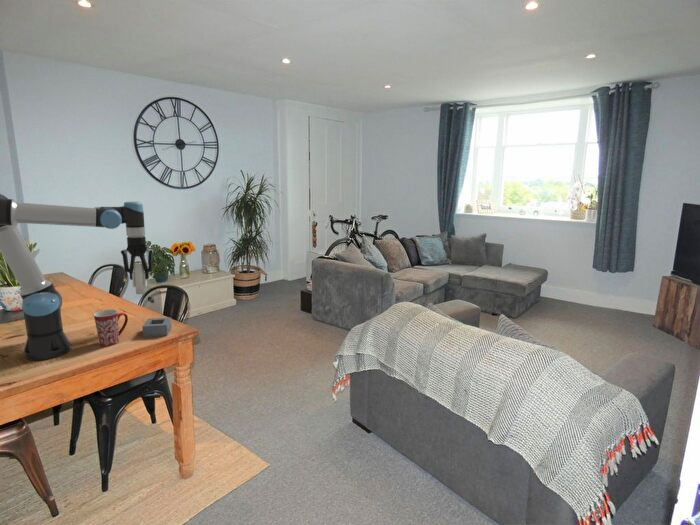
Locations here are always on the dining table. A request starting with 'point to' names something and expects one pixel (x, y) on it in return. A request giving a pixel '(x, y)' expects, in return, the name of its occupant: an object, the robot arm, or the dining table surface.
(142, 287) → the candle
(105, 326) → the mug
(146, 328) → the holder
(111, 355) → the dining table surface
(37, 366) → the dining table surface
